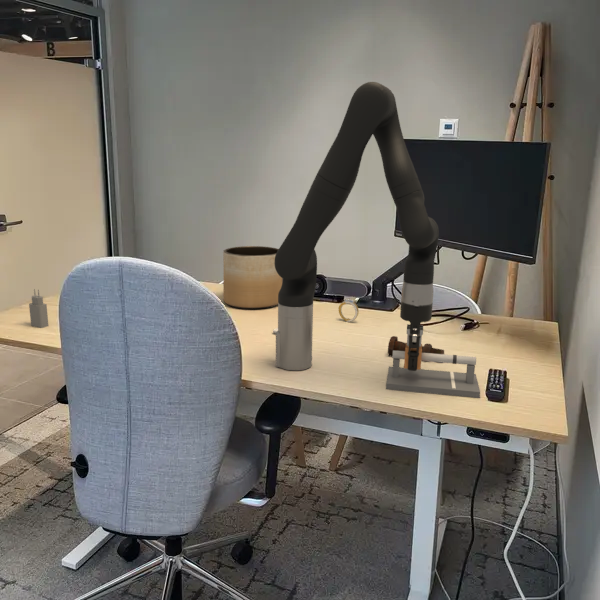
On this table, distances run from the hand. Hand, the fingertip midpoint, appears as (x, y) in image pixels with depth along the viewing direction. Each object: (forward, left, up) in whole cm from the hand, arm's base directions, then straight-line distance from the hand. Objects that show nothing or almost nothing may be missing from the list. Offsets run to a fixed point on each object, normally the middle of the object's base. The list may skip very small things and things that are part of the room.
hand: (412, 365), depth 145 cm
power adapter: (-118, +20, -5) cm, 120 cm away
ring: (-22, +50, -5) cm, 55 cm away
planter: (-60, +66, -5) cm, 89 cm away
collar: (0, 0, 0) cm, 0 cm away
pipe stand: (+5, 0, -4) cm, 7 cm away
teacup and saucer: (-43, +34, -5) cm, 55 cm away
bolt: (+1, +19, -5) cm, 20 cm away
